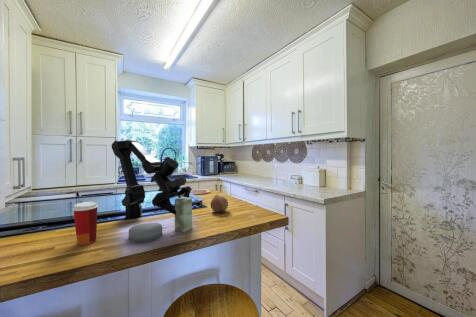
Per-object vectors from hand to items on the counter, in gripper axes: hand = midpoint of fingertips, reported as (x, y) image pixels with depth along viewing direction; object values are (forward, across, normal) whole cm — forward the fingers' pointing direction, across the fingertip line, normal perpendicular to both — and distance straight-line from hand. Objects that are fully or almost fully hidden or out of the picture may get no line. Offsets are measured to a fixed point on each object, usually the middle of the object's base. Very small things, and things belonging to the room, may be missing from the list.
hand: (183, 210), depth 88 cm
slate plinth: (-1, -12, +12) cm, 17 cm away
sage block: (+5, 0, +6) cm, 8 cm away
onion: (+6, +27, +5) cm, 28 cm away
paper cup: (-11, -26, +22) cm, 36 cm away
